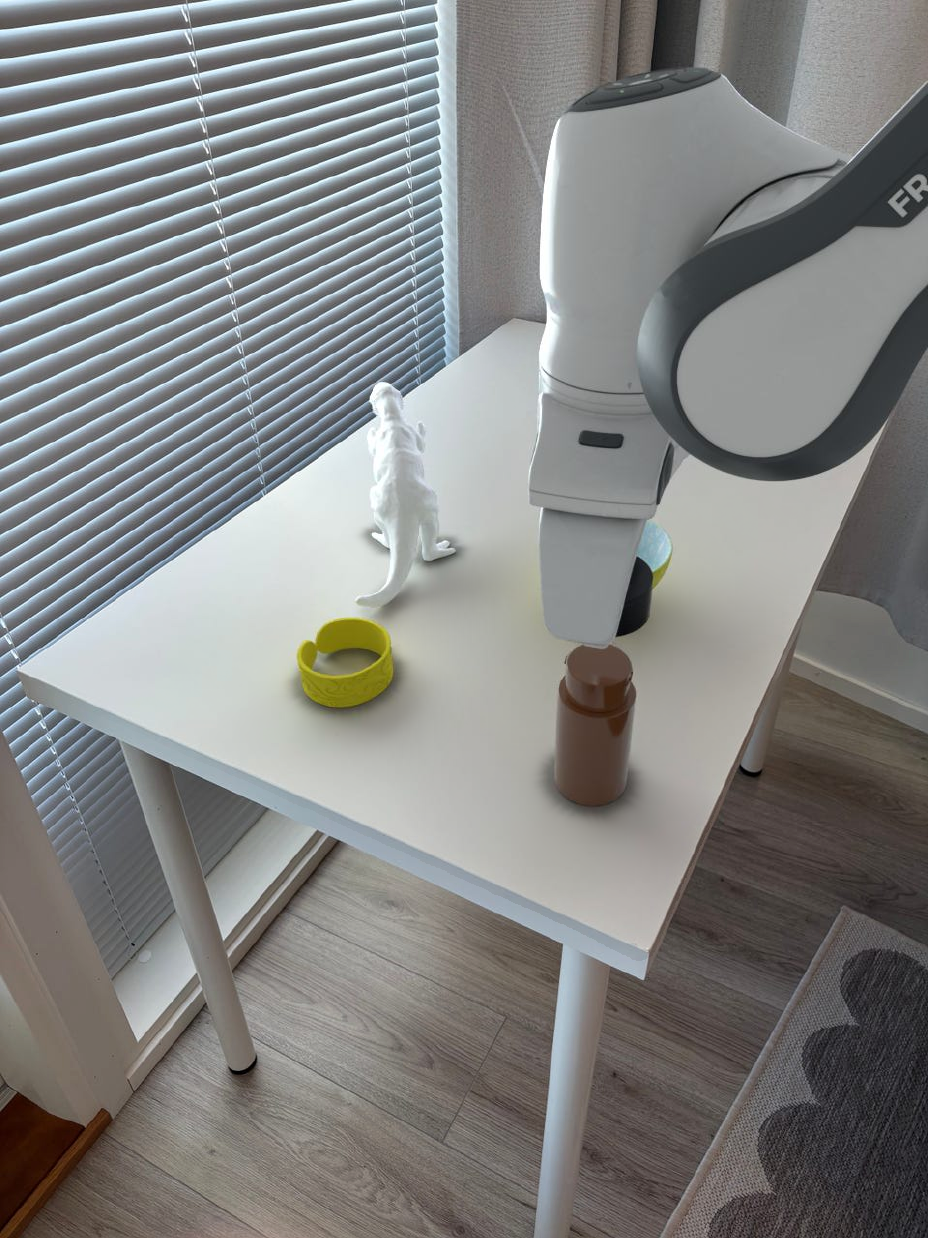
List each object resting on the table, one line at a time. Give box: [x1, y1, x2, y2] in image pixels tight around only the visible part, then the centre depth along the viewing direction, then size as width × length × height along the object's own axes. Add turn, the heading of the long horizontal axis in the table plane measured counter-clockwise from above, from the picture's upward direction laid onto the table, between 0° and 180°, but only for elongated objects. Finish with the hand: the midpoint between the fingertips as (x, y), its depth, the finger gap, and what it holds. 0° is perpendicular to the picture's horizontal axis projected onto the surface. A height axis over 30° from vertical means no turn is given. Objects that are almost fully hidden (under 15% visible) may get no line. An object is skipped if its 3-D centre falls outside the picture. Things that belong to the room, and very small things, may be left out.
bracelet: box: [296, 617, 394, 708], centre depth 80 cm, size 7×8×3 cm
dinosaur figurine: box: [354, 381, 457, 609], centre depth 89 cm, size 20×10×15 cm, turn 170°
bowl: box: [637, 519, 674, 591], centre depth 86 cm, size 11×12×6 cm
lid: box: [615, 556, 653, 638], centre depth 60 cm, size 6×6×3 cm
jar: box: [553, 644, 637, 807], centre depth 67 cm, size 5×5×12 cm
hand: (605, 607), depth 61 cm, fingers closed on lid, 5 cm apart
